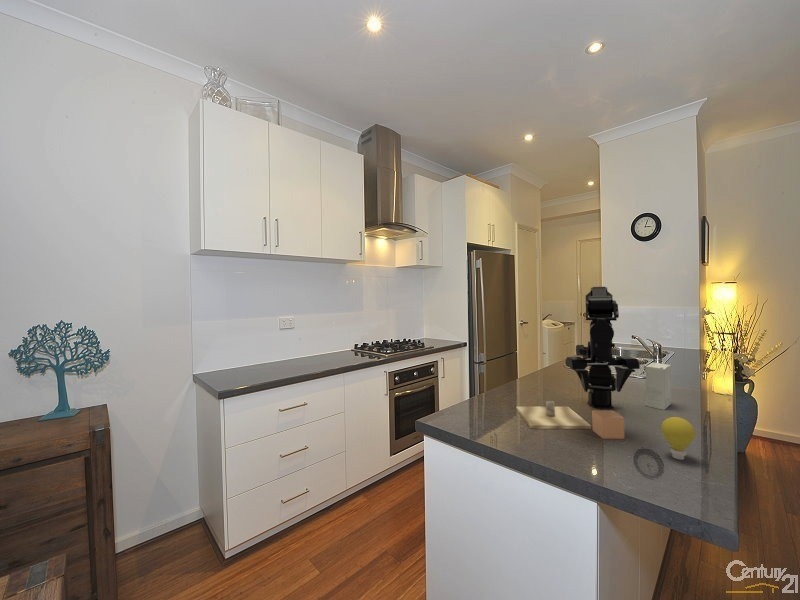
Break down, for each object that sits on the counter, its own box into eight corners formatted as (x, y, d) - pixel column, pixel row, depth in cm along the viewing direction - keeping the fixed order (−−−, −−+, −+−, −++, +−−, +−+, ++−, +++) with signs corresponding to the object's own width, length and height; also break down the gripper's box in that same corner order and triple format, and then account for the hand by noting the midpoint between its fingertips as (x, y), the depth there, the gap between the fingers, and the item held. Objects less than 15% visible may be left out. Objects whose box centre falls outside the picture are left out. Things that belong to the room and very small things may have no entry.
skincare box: (652, 401, 130) (651, 362, 130) (672, 405, 125) (671, 364, 125) (645, 406, 125) (644, 365, 124) (665, 410, 120) (664, 367, 120)
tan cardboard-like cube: (613, 430, 104) (613, 410, 104) (624, 438, 98) (624, 417, 98) (592, 430, 105) (592, 410, 105) (602, 438, 99) (601, 417, 99)
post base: (568, 409, 124) (567, 394, 124) (591, 428, 106) (590, 411, 106) (516, 409, 126) (516, 394, 125) (530, 428, 108) (530, 411, 108)
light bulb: (654, 452, 90) (654, 413, 90) (678, 450, 91) (678, 412, 90) (677, 464, 83) (676, 423, 83) (703, 462, 84) (702, 421, 84)
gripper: (618, 335, 110) (619, 384, 110) (558, 336, 111) (559, 384, 111) (640, 340, 99) (641, 394, 99) (572, 340, 100) (573, 394, 100)
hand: (602, 391), depth 103 cm, fingers open, 9 cm apart
